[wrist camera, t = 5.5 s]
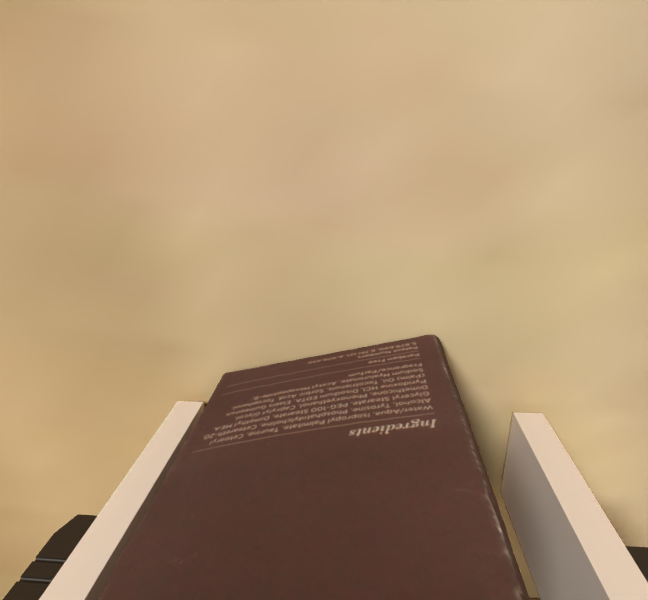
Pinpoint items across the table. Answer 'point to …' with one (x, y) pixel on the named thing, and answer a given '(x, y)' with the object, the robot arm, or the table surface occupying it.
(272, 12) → the table surface
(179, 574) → the box
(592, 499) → the robot arm
